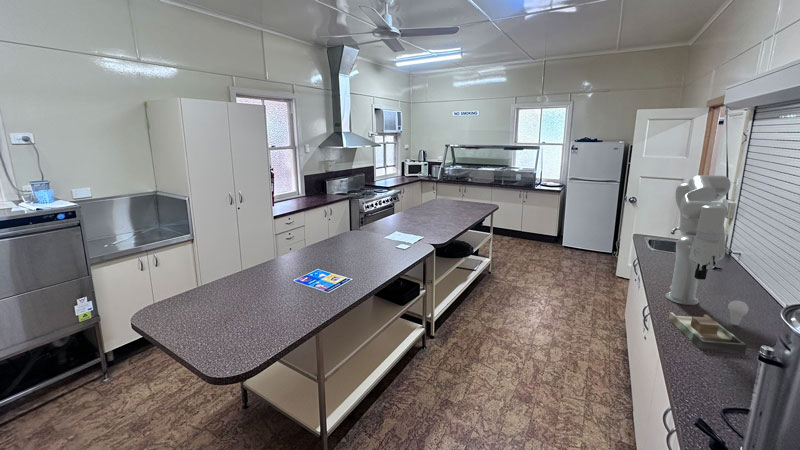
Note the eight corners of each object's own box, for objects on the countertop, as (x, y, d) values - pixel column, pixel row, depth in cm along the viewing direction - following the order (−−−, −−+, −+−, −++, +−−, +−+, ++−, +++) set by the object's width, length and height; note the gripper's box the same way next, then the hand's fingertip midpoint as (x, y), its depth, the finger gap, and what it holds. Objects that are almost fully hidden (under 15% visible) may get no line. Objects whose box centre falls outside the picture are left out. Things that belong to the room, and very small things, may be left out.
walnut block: (690, 325, 144) (692, 316, 143) (707, 326, 143) (709, 317, 142) (699, 333, 138) (701, 324, 137) (716, 334, 137) (718, 325, 136)
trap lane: (668, 319, 153) (669, 312, 152) (705, 321, 150) (706, 314, 149) (701, 349, 131) (702, 341, 130) (745, 353, 128) (747, 345, 127)
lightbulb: (725, 325, 146) (730, 302, 144) (723, 319, 151) (728, 296, 148) (745, 330, 143) (751, 306, 140) (743, 324, 147) (748, 300, 145)
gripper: (686, 230, 147) (679, 271, 151) (709, 241, 133) (700, 285, 137) (707, 231, 145) (699, 272, 150) (732, 241, 131) (722, 286, 136)
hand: (699, 278), depth 144 cm, fingers closed
